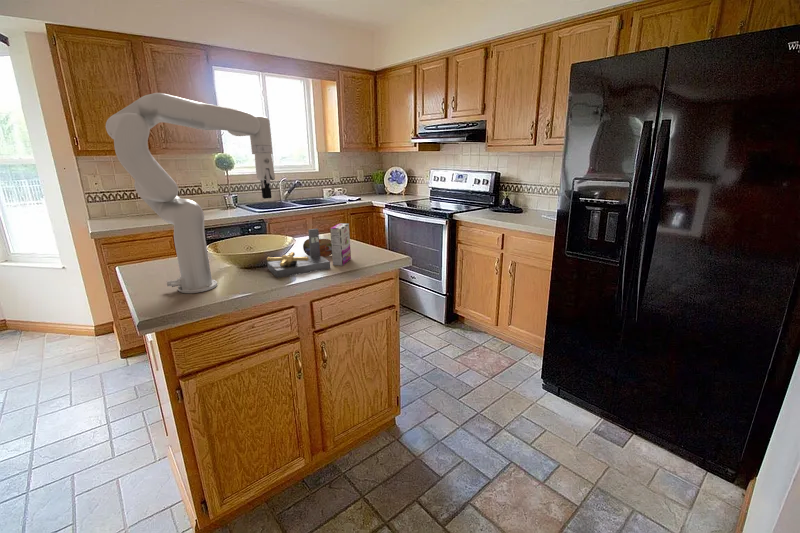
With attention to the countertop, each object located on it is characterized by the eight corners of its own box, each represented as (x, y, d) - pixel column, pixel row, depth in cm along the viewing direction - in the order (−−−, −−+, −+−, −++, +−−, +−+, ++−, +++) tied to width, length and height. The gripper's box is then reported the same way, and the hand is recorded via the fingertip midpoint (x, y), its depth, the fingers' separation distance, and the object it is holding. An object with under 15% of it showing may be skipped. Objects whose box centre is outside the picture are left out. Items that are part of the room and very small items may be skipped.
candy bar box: (340, 258, 172) (338, 223, 167) (351, 259, 171) (349, 223, 166) (331, 265, 162) (329, 227, 157) (342, 266, 161) (340, 228, 156)
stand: (277, 277, 146) (273, 240, 142) (267, 269, 157) (263, 233, 153) (330, 268, 157) (328, 233, 153) (317, 260, 169) (315, 227, 164)
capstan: (304, 270, 144) (303, 260, 143) (260, 270, 144) (259, 260, 143) (313, 258, 160) (312, 249, 159) (273, 258, 160) (272, 249, 159)
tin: (303, 255, 177) (302, 238, 175) (306, 254, 180) (305, 237, 178) (333, 257, 174) (332, 239, 172) (336, 255, 177) (334, 238, 175)
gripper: (277, 150, 142) (281, 199, 147) (266, 150, 154) (271, 195, 159) (256, 150, 138) (262, 200, 143) (247, 150, 150) (253, 197, 155)
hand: (267, 198), depth 151 cm, fingers closed
